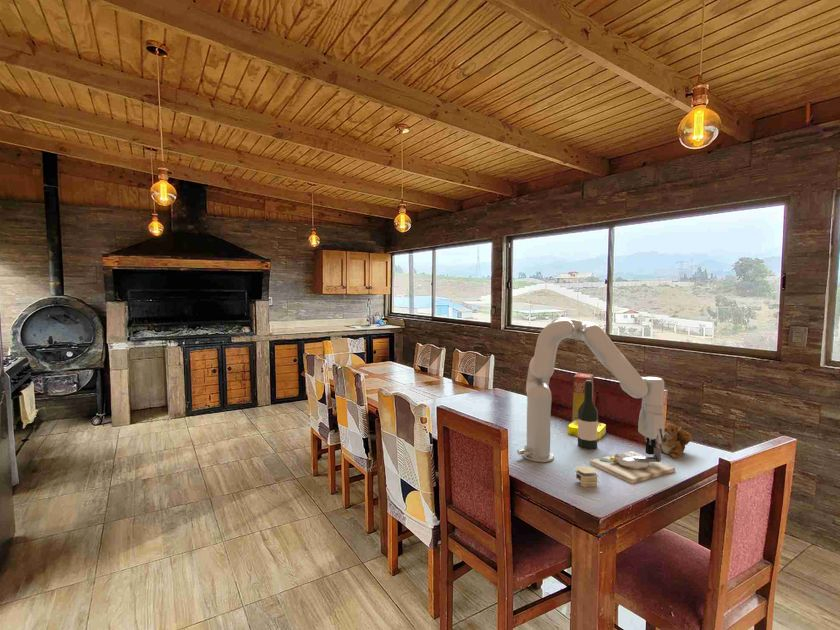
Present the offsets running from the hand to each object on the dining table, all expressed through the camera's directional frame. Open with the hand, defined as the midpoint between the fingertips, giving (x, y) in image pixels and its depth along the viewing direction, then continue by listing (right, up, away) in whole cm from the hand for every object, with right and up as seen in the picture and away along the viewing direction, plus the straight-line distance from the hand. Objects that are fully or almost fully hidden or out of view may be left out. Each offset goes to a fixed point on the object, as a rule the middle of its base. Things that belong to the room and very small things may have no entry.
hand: (650, 453), depth 164 cm
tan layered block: (-32, -6, -16) cm, 37 cm away
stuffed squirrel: (+17, -4, +13) cm, 22 cm away
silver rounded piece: (-8, -3, -3) cm, 9 cm away
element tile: (-10, -3, +39) cm, 40 cm away
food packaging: (-4, -2, +58) cm, 58 cm away
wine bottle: (-17, -4, +20) cm, 27 cm away
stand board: (-9, -5, -3) cm, 10 cm away
